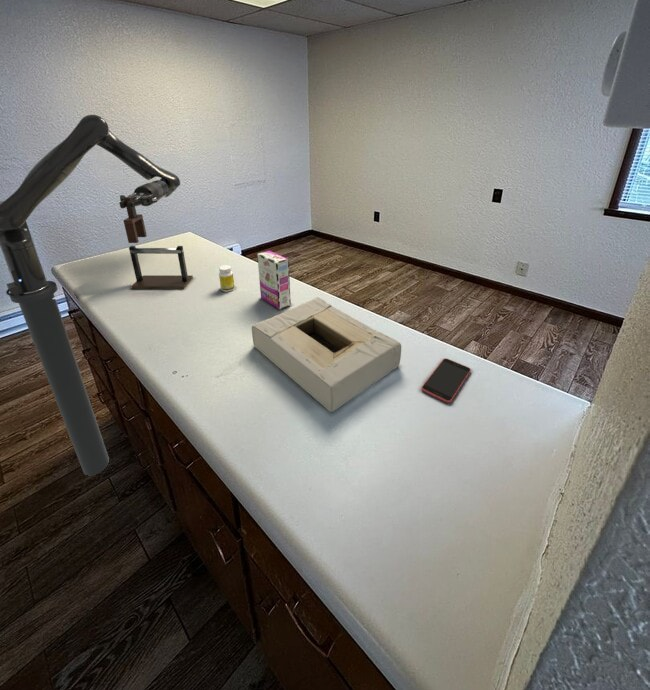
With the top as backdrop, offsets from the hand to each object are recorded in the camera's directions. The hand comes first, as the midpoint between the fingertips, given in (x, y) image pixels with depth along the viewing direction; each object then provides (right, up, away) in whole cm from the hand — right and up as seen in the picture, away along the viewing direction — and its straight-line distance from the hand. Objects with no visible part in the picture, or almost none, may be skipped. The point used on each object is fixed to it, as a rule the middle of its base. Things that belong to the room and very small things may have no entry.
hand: (125, 205), depth 120 cm
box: (+66, -43, -27) cm, 83 cm away
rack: (+7, -27, +13) cm, 31 cm away
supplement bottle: (+32, -29, +9) cm, 44 cm away
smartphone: (+95, -46, -35) cm, 112 cm away
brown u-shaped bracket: (0, -11, +8) cm, 14 cm away
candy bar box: (+50, -32, 0) cm, 60 cm away
